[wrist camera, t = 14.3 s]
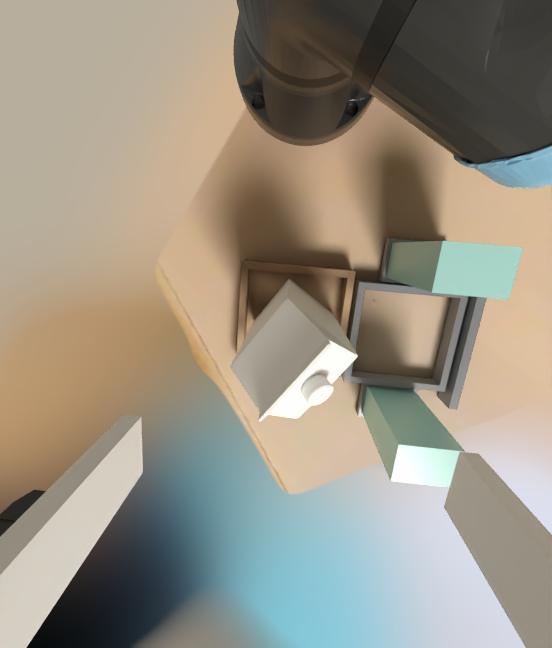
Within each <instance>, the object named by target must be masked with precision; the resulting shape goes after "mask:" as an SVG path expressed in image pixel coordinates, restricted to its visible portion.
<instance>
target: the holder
mask: <svg viewBox="0 0 552 648" xmlns="http://www.w3.org/2000/svg"><path fill="white" fill-rule="evenodd" d="M522 250H523V248H522V247H510V246H498V245H487V244H475V243H464V242H452V241H419V240H408V239H396V238H386V243H385V249H384V255H383V260H382V266H381V272H380V278H379V281H381V282H392V283H403V284H407V285H403V284H392V283H381V282H370V281H359V280H356V282H355V288H354V295H353V302H352V308H351V315H350V321H349V328H348V334H347V338H348V340H349V342H350V343H351V345H352V347H353V348H354V350H355V349H356V343H357V337H358V330H359V324H360V318H361V312H362V305H363V299H364V293H365V290H376V291H387V292H397V293H408V294H419V295H430V296H441V297H452V298H451V302H450V306H449V310H448V315H447V319H446V323H445V327H444V332H443V336H442V340H441V345H440V349H439V353H438V357H437V362H436V366H435V370H434V374H433V379H431V378H421V377H411V376H401V375H391V374H381V373H371V372H361V371H352V368H353V362H352V363H351V365H350V366H349V367H348V368H347V369H346V370H345V371H344V372H343V373H342V374H341V376H342V378H343V381H344V382H352V383H361V389H360V395H359V401H358V407H357V415H358V416H361V417H364V418H365V421H366V423H367V425H368V428H369V430H370V433H371V435H372V437H373V440H374V442H375V445H376V447H377V449H378V452H379V454H380V457H381V459H382V461H383V464H384V466H385V468H386V471H387V473H388V475H389V478H390V480H391V481H395V482H405V483H413V484H422V485H431V486H440V487H449V488H450V484H451V481H452V477H453V474H454V470H455V466H456V463H457V459H458V456H459V452H465V451H464V449H462V447H461V446H460V445H459V444H458V442H457V441H456V440H455V439H454V438H453V436H452V435H451V434H450V433H449V432H448V430H447V429H446V428H445V427H444V426H443V425H442V423H441V422H440V421H439V420H438V419H437V417H436V416H435V415H434V414H433V413H432V412H431V410H430V409H429V408H428V407H427V406H426V404H425V403H424V402H423V401H422V400H421V398H420V397H419V396H418V395H417V392H418V389H421V390H431V391H439V393H438V398H439V399H440V400H441V401H442V402H443V403H444V404H445V405H446V406H447V407H448V408H449V409H457V408H458V404H459V400H460V397H461V393H462V389H463V385H464V381H465V378H466V374H467V370H468V366H469V363H470V359H471V355H472V351H473V347H474V344H475V340H476V336H477V332H478V329H479V325H480V321H481V317H482V313H483V310H484V306H485V302H486V298H495V299H506V300H509V296H510V293H511V289H512V286H513V282H514V279H515V275H516V272H517V268H518V265H519V261H520V257H521V254H522Z"/></svg>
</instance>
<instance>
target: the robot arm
mask: <svg viewBox="0 0 552 648" xmlns="http://www.w3.org/2000/svg"><path fill="white" fill-rule="evenodd" d="M237 4H238V8H239V16H238V21H237V26H236V31H235V39H234V65H235V72H236V77H237V81H238V84H239V88H240V91H241V93H242V97H243V99H244V102H245V104H246V106H247V108H248V110H249V112H250V113H251V115H252V116H253V118H254V119H255V120H256V122H257V123H258V124H259V125H260V126H261V127H262V128H263V129H264V130H265V131H266V132H268V133H269V134H271V135H272V136H274V137H275V138H277V139H279V140H281V141H284V142H286V143H290V144H294V145H301V146H311V145H318V144H322V143H326V142H329V141H331V140H333V139H335V138H337V137H339V136H341V135H342V134H344V133H345V132H347V131H348V130H349V129H350V128H352V127H353V126H354V125H355V124H356V123H357V122H358V121H359V119H360V118H361V117H362V116H363V114H364V113H365V112H366V110H367V109H368V107H369V105H370V103H371V102H372V100H373V98H374V97H376V98H377V99H378V100H380V101H381V102H382V103H384V104H385V105H387V106H388V107H389V108H391V109H392V110H393V111H395V112H396V113H397V114H399V115H400V116H402V117H403V118H404V119H406V120H407V121H408V122H410V123H411V124H412V125H414V126H415V127H417V128H418V129H419V130H421V131H422V132H423V133H425V134H426V135H427V136H429V137H430V138H432V139H433V140H434V141H436V142H437V143H438V144H440V145H441V146H442V147H444V148H445V149H447V150H448V151H449V152H451V153H452V154H453V155H454V159H455V160H456V161H458V162H459V163H460V164H462V165H464V166H466V167H471V168H475V169H476V170H478V171H480V172H481V173H483V174H484V175H486V176H487V177H489V178H490V179H492V180H493V181H495V182H497V183H499V184H501V185H504V186H507V187H512V188H513V187H522V188H538V187H543V186H548V185H552V0H237ZM142 472H143V462H142V425H141V417H139V416H130V415H123V416H122V417H121V418H120V419H119V420H118V421H117V422H116V423H115V424H114V425H113V426H112V427H110V428H109V430H108V431H106V433H104V434H103V435H102V437H100V438H99V440H98V441H96V442H95V443H94V444H93V445H92V446H91V447H90V448H89V449H88V450H87V451H86V452H85V454H83V455H82V456H81V457H80V458H79V459H78V460H77V461H76V462H75V463H74V464H73V465H72V466H71V467H70V468H69V469H68V470H67V471H66V472H65V473H64V474H63V475H62V476H61V477H60V478H59V479H58V480H57V481H56V482H55V483H54V484H53V485H52V486H51V487H50V488H49V489H48V490H47V491H40V490H33V491H31V492H30V493H28V494H26V495H25V496H23V497H21V498H20V499H18V500H17V501H15V502H13V503H12V504H11V505H10V506H9V507H8V508H7V509H6V510H4V511H3V512H2V513H1V514H0V648H26V647H27V646H28V644H29V643H30V641H31V640H32V638H33V636H34V635H35V633H36V632H37V631H38V629H39V628H40V626H41V625H42V623H43V622H44V620H45V619H46V617H47V615H48V614H49V613H50V611H51V609H52V608H53V607H54V605H55V604H56V602H57V601H58V599H59V597H60V596H61V594H62V593H63V592H64V590H65V588H66V587H67V585H68V584H69V582H70V581H71V579H72V578H73V576H74V575H75V573H76V572H77V570H78V569H79V567H80V566H81V564H82V563H83V561H84V560H85V558H86V557H87V555H88V554H89V552H90V551H91V549H92V548H93V546H94V545H95V543H96V542H97V540H98V539H99V537H100V536H101V534H102V533H103V531H104V530H105V528H106V527H107V525H108V524H109V522H110V521H111V519H112V518H113V516H114V515H115V513H116V512H117V510H118V509H119V507H120V506H121V504H122V503H123V501H124V500H125V498H126V497H127V495H128V494H129V492H130V491H131V489H132V488H133V486H134V485H135V483H136V482H137V480H138V479H139V477H140V476H141V474H142ZM444 508H445V509H446V511H447V513H448V515H449V516H450V518H451V520H452V522H453V523H454V525H455V526H456V528H457V530H458V532H459V534H460V535H461V537H462V538H463V540H464V542H465V544H466V545H467V547H468V549H469V550H470V552H471V554H472V556H473V558H474V559H475V561H476V563H477V564H478V566H479V568H480V570H481V571H482V573H483V575H484V576H485V578H486V580H487V582H488V583H489V585H490V587H491V589H492V590H493V592H494V593H495V595H496V597H497V599H498V600H499V602H500V604H501V606H502V607H503V609H504V611H505V613H506V614H507V616H508V618H509V619H510V621H511V622H512V625H513V626H514V628H515V630H516V631H517V633H518V635H519V637H520V638H521V640H522V642H523V643H524V645H525V647H526V648H552V535H551V534H550V532H549V531H548V530H547V529H546V528H545V527H544V526H543V525H542V524H541V522H540V521H539V520H538V519H537V518H536V517H535V516H534V515H533V514H532V512H530V510H529V509H528V508H527V507H526V506H525V505H524V504H523V502H522V501H521V500H520V499H519V498H518V497H517V496H516V495H515V494H514V493H513V491H512V490H511V489H510V488H509V487H508V486H507V485H506V484H505V482H504V481H503V480H502V479H501V478H500V477H499V476H498V475H497V474H496V473H495V471H494V470H493V469H492V468H491V467H490V466H489V465H488V464H487V462H486V461H485V460H484V459H483V458H482V457H481V456H480V455H479V454H475V453H466V452H459V456H458V459H457V463H456V466H455V470H454V474H453V477H452V481H451V484H450V488H449V492H448V495H447V498H446V502H445V506H444Z"/></svg>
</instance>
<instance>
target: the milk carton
mask: <svg viewBox="0 0 552 648" xmlns="http://www.w3.org/2000/svg"><path fill="white" fill-rule="evenodd" d="M357 357H358V355H357V353H356V352H355V350H354V348H353V347H352V345H351V343H350V342H349V340H348V338H347V337H346V335H345V333H344V331H343V330H342V328H341V326H340V325H339V323H338V321H337V320H336V318H335V316H334V315H333V314H332V313H331V312H330V311H329V310H328V309H326V308H325V307H324V306H323V305H322V304H320V303H319V302H318V301H317V300H316V299H314V298H313V297H312V296H311V295H310V294H308V293H307V292H306V291H305V290H304V289H302V288H301V287H300V286H299V285H298V284H296V283H295V282H294V281H293V280H292V279H290V278H289V279H288V280H287V281H286V282H285V284H284V285H283V286H282V287H281V288H280V290H279V291H278V292H277V293H276V295H275V296H274V297H273V298H272V299H271V301H270V302H269V303H268V304H267V305H266V307H265V308H264V309H263V310H262V312H261V313H260V314H259V315H258V316H257V318H256V319H255V320H254V322H253V324H252V326H251V328H250V330H249V332H248V333H247V335H246V337H245V339H244V341H243V343H242V345H241V347H240V349H239V351H238V353H237V355H236V356H235V358H234V360H233V362H232V364H231V366H230V368H231V369H232V371H233V372H234V374H235V375H236V377H237V378H238V380H239V381H240V383H241V384H242V386H243V387H244V389H245V390H246V392H247V393H248V395H249V396H250V398H251V399H252V401H253V402H254V404H255V406H256V407H257V409H258V410H259V412H260V414H259V419H258V420H259V421H260V422H261V421H262V420H263V419H264V418H265V417H266V416H267V415H274V416H281V417H288V418H295V419H298V418H299V417H300V416H301V415H302V414H303V413H304V412H305V411H306V410H307V409H308V408H309V407H310V406H311V405H313V406H314V405H318V404H321V403H322V402H324V401H325V400H326V399H327V398H328V397H329V396H330V395H331V394H332V392H333V386H332V385H331V384H332V383H333V382H334V381H335V380H336V379H337V378H338V377H339V376H340V375H341V374H342V373H343V372H344V371H345V370H346V369H347V368H348V367H349V366H350V365H351V363H352V362H353V361H354V360H355V359H356V358H357Z"/></svg>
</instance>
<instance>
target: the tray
mask: <svg viewBox="0 0 552 648" xmlns="http://www.w3.org/2000/svg"><path fill="white" fill-rule="evenodd" d="M355 273H356V271H353V270H349V269H338V268H326V267H315V266H304V265H293V264H282V263H271V262H260V261H249V260H244V261H242V264H241V282H240V300H239V318H238V336H237V353H238V351H239V349H240V347H241V345H242V343H243V341H244V339H245V337H246V335H247V333H248V332H249V330H250V328H251V326H252V324H253V322H254V320H255V319H256V318H257V316H258V315H259V314H260V313H261V312H262V310H263V309H264V308H265V307H266V305H267V304H268V303H269V302H270V301H271V299H272V298H273V297H274V296H275V295H276V293H277V292H278V291H279V290H280V288H281V287H282V286H283V285H284V284H285V282H286V281H287V280H288V279H289V278H290V279H292V280H293V281H294V282H295V283H296V284H298V285H299V286H300V287H301V288H302V289H304V290H305V291H306V292H307V293H308V294H310V295H311V296H312V297H313V298H314V299H316V300H317V301H318V302H319V303H320V304H322V305H323V306H324V307H325V308H326V309H328V310H329V311H330V312H331V313H332V314H333V315H334V316H335V318H336V320H337V321H338V323H339V325H340V326H341V328H342V330H343V331H344V333H345V335H346V333H347V326H348V320H349V313H350V307H351V300H352V293H353V287H354V280H355ZM236 355H237V354H236ZM339 377H340V376H339Z"/></svg>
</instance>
